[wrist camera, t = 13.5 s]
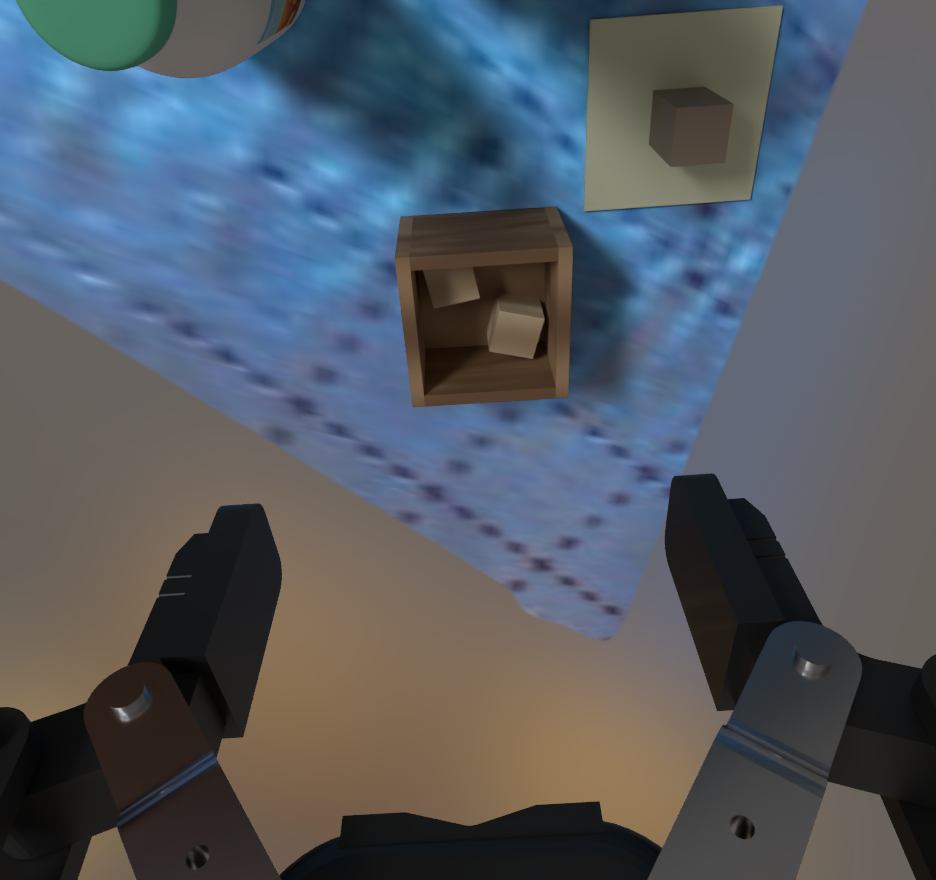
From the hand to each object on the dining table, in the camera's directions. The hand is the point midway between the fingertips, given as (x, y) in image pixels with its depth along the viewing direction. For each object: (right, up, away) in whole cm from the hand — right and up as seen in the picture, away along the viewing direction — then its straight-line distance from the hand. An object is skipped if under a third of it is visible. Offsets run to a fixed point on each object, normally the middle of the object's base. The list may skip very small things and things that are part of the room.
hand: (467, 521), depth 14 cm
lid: (+12, +21, +29) cm, 38 cm away
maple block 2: (+3, +10, +35) cm, 36 cm away
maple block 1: (-1, +13, +33) cm, 35 cm away
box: (+1, +12, +34) cm, 37 cm away
